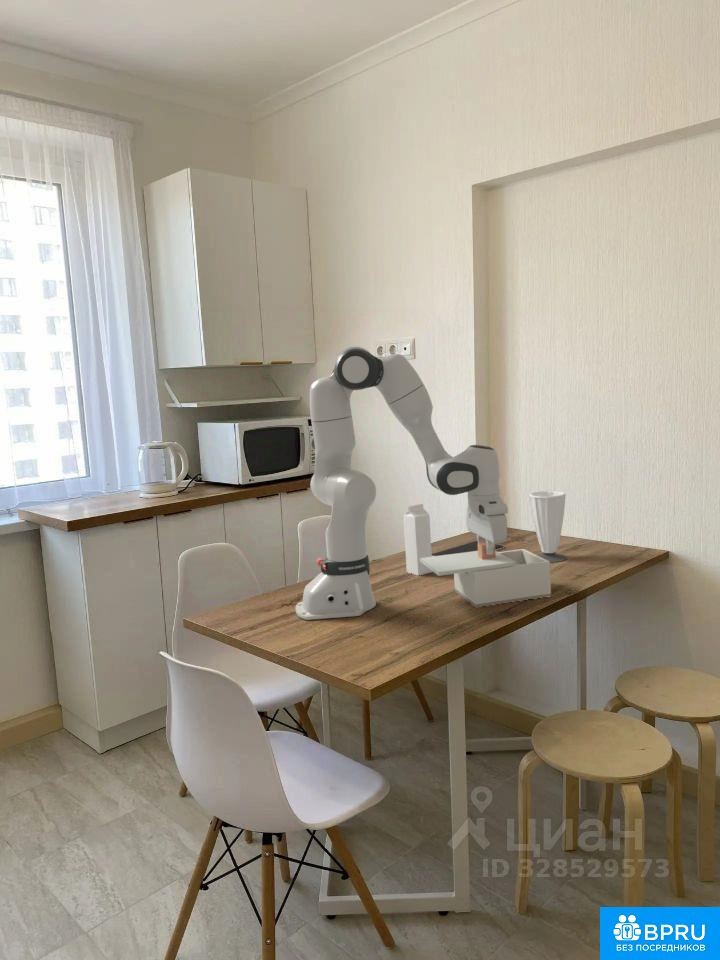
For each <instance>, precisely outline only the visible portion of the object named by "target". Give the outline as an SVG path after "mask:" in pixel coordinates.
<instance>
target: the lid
mask: <svg viewBox="0 0 720 960" xmlns="http://www.w3.org/2000/svg"><path fill="white" fill-rule="evenodd" d="M477 544H478V551H472V552H464V553H457V554H449V555H441V556H433V557H425V558H420V562H421V563H423V564H424V565H425V566H427V567H428V568H429V569H430V570H432V571H433V572H432V573H434V574H435V575H437V576H438V577H440V576H449V575H454V574H457V573H464V572H471V571H479V570H486V569H494V568H501V567H509V566H516V562H515V561H513V560H512V559H510V558H508V557H506V556H504V555H502V554H500V553H499V552H500V551H498V550H497V551H495V545H494V548H493V554H491V555H488V554H486V553H485V548H486V546H487V543H486V541H485V542H482V543H477Z"/></svg>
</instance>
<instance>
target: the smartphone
mask: <svg viewBox="0 0 720 960" xmlns="http://www.w3.org/2000/svg"><path fill="white" fill-rule="evenodd" d="M477 543H478V540H474V541H471V542H468V543H465V544H462V545H457V546H455V547H454V546H453V547H451V548H446V549H444V550H441V551H438V552H434V553H432V557H433V556H441V555H449V554H457V553H464V552H472V551H478V544H477ZM502 548H503V549H505V545H503V544H500V543H495V551H496V550H497V551H500V550H503V549H502ZM499 549H500V550H499Z"/></svg>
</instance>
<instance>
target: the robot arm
mask: <svg viewBox="0 0 720 960" xmlns="http://www.w3.org/2000/svg"><path fill="white" fill-rule="evenodd" d="M373 387H374V388H376V389H377V390H378V391H379V392H380V394H381V395H382V396H383V398H384V400H385V402H386V404H387V405H388V408H389V409H390V410H391V412H392V414H393V415H394V417H395V418H396V419H397V421H398V422H399V423H400V424H401V425H402V426H403V427H404V429H406V431H407V432H408V433H409V434H410V435H411V437H412V439H413V440H414V442H415V444H416V446H417V448H418V450H419V452H420V453H421V455H422V457H423V459H424V462H425V467H426V469H425V470H426V476H427V480H428V482H429V484H430V485H431V486H432V487H433V488H435V489H436V490H438V491H441V492H442V493H443V494H446V495H448V496H449V495H450V496H457V495H461V494H464V493H467V505H468V506H467V508H466V515H465V516H466V529H467V530H468V531H469V532H472V533H473V534H475V535H476V541H478V543H482V542H486V543H487V546H486V548H485V553H486V554H488V555H491V554H493V548H494V545H495V544H502V543H505V542H506V541H507V538H508V520H507V516H506V514H507V513H509V512H508V511H509V510H508V509H509V508H508V506H507V503H505V502H504V501H503V499H502V497H501V489H500V486H499V481H500V476H501V475H500V463H499V462H500V461H499V457H498V453H497V451H496V450H495V449H494V448H493V447H491V446H488V445H487V446H485V445H481V444H471V445H469V446H468V447H467V448H466V449H464V450H463V451H461V452H460V453H459V454H457V455H455V456H452V455H450V454H449V453H448V452H447V451H446V450H445V448H444V446H443V444H442V442H441V440H440V438H439V436H438V434H437V433H436V430H435V428H434V426H433V422H432V414H433V408H434V406H433V404H432V399H431V397H430V394H429V391H428V389H427V388H426V386H425V384H424V382H423V381H422V379H421V376H420V375H419V374H418V372H417V371H416V369H415V368H414V366H412V364H411V363H410V361H409V360H407V358H406V357H405V356H404V355H402V354H399V353H393V354H389V355H386V356H384V357H382V358H378V357H377V356H375V355H373V354H372V353H371V352H369V350H367V349H366V348H363V347H360V346H351V347H347V348H345V349H344V350H342V351H341V352H340V353H339V354H338V356H337V357H336V359H335V363H334V367H333V369H332V372H331V375H330V374H329V375H328V376H324V377H320V378H318V379H316V380H315V381H314V382H313V383H311V385H310V388H309V412H310V413H309V414H310V421H311V429H312V435H313V441H314V452H315V453H314V454H315V455H314V456H315V458H314V472H313V475H312V476H311V479H310V484H309V485H310V491H311V492H312V495H313V496H314V497H315V498H316V499H317V500H318V501H319V502H321V503H323V504H324V505H326V506H330V507H331V514H330V520H329V523H328V526H327V527H326V528H325V534H324V535H325V544H326V547H325V548H326V558H325V559H323V558H321V557H319V558H317V559H316V564H317V566H319V567H320V573H318V575H316V576H315V577H314V578H313V579H312V580H311V581H309V583H307V584H306V585H305V587H304V590H303V592H302V593H303V594H302V601H300V602H298V603H297V604H296V605H295V614H296V615H297V616H298V617H299V618H300V619H303V620H306V621H307V620H308V621H309V620H323V619H324V620H325V619H332V618H333V619H335V618H337V619H338V618H346V617H358V616H362V615H363V614H364V613H366V612H367V611H369V610H372V609H373V608H375V607H376V606H377V602H376V600H375V596H374V594H373V589H372V585H371V579H370V571H371V566H370V565H371V564H370V558H369V555H368V554H367V538H366V537H367V535H366V531H367V530H366V529H367V528H366V526H367V519H368V514H369V509H370V507H372V506H371V505H373V503H374V502H375V499H376V496H377V487H376V485H375V482H374V481H373V479H372V478H370V477H369V476H368V475H367V474H365V473H363V472H362V471H359V470H355V469H352V465H351V463H352V462H351V461H352V455H353V454H352V453H353V450H354V449H355V447H356V436H355V430H354V422H353V416H352V415H353V413H352V409H351V396H352V393H353V392H354V391H360V390H365V389H368V388H373Z"/></svg>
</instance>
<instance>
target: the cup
mask: <svg viewBox="0 0 720 960" xmlns="http://www.w3.org/2000/svg"><path fill="white" fill-rule="evenodd" d="M566 496H567V495H566V493H565V492H564V491H560V490H559V491H558V490H539V491H533V492H531V493H529V502H530V508H531V514H532V519H533V524H534V530H535V533H536V537H537V540H538V543H539V547H540V549H541V553H537V554H536V555H537V556H539V557H541V558H543V559H546V560H548V561H550V564H552V563H551V562H553V563H554V562H556V563H559V562H560V561H562V562H565V561H567V560H568V556H566V555H565V554H562V553H557V550H558V548H559V544H560V540H561V539H560V538H561V534H562V529H563V524H564V523H563V522H564V517H565V508H566ZM564 560H565V561H564ZM554 564H555V563H554Z"/></svg>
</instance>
